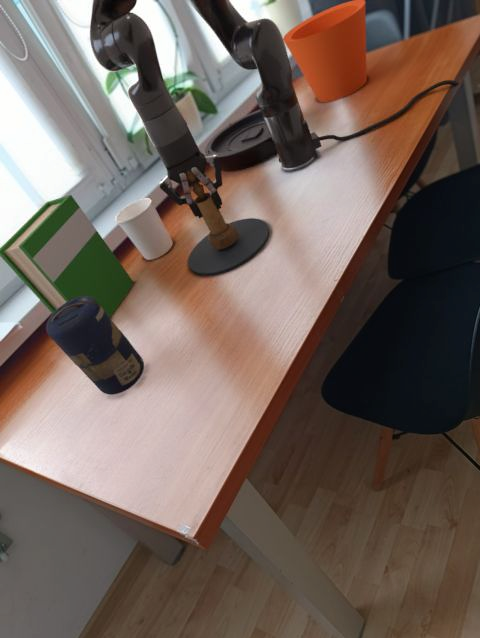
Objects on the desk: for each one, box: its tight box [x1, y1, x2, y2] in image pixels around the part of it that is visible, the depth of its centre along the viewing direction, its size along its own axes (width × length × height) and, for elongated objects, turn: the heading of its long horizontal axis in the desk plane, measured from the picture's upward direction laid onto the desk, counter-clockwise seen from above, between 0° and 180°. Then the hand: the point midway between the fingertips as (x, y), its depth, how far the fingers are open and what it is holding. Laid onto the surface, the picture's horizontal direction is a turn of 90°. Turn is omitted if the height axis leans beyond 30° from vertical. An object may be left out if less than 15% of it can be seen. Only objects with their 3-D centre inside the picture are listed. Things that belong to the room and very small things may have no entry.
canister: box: [45, 296, 145, 396], centre depth 84 cm, size 10×10×18 cm
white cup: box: [114, 197, 174, 261], centre depth 120 cm, size 10×10×12 cm
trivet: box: [187, 217, 271, 277], centre depth 109 cm, size 20×20×1 cm
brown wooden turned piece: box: [186, 171, 238, 250], centre depth 103 cm, size 7×6×18 cm
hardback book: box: [0, 194, 135, 318], centre depth 105 cm, size 18×7×24 cm, turn 161°
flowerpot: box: [282, 0, 368, 103], centre depth 148 cm, size 25×25×20 cm
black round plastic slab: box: [204, 109, 278, 172], centre depth 146 cm, size 30×6×30 cm
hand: (210, 211), depth 104 cm, fingers closed on brown wooden turned piece, 4 cm apart
